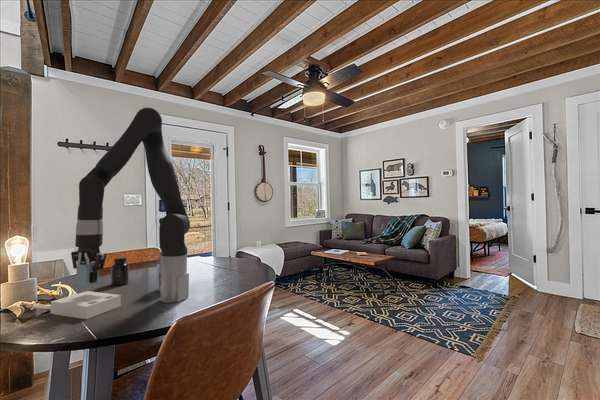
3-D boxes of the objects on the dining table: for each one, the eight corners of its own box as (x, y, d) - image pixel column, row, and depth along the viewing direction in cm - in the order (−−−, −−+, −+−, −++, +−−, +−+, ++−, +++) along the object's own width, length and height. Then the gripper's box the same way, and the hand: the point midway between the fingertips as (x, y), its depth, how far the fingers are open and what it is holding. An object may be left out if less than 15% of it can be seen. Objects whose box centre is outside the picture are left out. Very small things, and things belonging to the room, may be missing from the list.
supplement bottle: (132, 282, 130) (132, 256, 130) (121, 286, 123) (121, 259, 123) (118, 281, 130) (119, 256, 131) (107, 285, 123) (107, 259, 124)
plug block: (98, 283, 97) (99, 257, 97) (85, 286, 93) (86, 259, 93) (89, 281, 98) (90, 256, 98) (75, 285, 94) (76, 258, 94)
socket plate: (120, 306, 99) (120, 294, 99) (86, 319, 87) (87, 306, 87) (87, 301, 103) (87, 290, 103) (50, 313, 91) (50, 301, 91)
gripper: (115, 232, 98) (113, 281, 97) (85, 230, 102) (83, 277, 101) (94, 234, 90) (91, 286, 90) (63, 232, 94) (60, 282, 94)
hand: (87, 281), depth 95 cm, fingers closed on plug block, 4 cm apart
